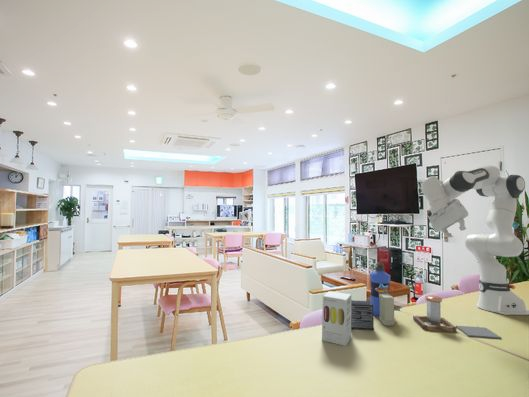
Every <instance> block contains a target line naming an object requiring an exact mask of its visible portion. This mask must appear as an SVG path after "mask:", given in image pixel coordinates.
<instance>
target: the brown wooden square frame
mask: <svg viewBox="0 0 529 397" xmlns="http://www.w3.org/2000/svg"><path fill="white" fill-rule="evenodd" d="M412 319H413V321H414V322H415V323H416V324H417V325H418V326H419V327H420V328H421V329H422V330H424V331H425V330H426V331H428V332H429V331H430V332H442V333H443V332H444V333H445V332H446V333H454V332H455V333H456V332H457V328H456V325H454V324H452V323H451V322H449V321H448V319H445V317H441V322H442V323H443V324H442V323H441V324H442V325H441V326H437V325H428V324H427V323H425V322H427V315H413V317H412Z"/></svg>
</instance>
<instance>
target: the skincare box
mask: <svg viewBox="0 0 529 397" xmlns="http://www.w3.org/2000/svg"><path fill="white" fill-rule="evenodd" d="M379 299H380V317H379V321H380V322H381V323H382V324H383V325H384V326H395V298H394V297H393V296H392V295H391V294H390V293H389V294H379Z"/></svg>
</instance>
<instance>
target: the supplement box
mask: <svg viewBox="0 0 529 397" xmlns="http://www.w3.org/2000/svg"><path fill="white" fill-rule="evenodd" d="M351 300H352V294H350V293H344V292H337V291H332V290H329V291H327V292H326V293H325V294H324V295H323V296H322V314H321V315H322V316H321V317H322V318H321V341H323V342H327V343H333V344H337V345H341V346H345V347H346V346H347V345H348V343H349V341H350V339H351V338H352V329H351Z"/></svg>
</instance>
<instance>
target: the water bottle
mask: <svg viewBox="0 0 529 397" xmlns="http://www.w3.org/2000/svg"><path fill="white" fill-rule="evenodd" d="M369 281H370V294H369V301H370V302H371V303H372V304H373V317H378V318H380V299H379V294H389V295H390V284H391V274H389V273H387V272H386V270H385V264H384V263H383V262H382V261H379V262H376V263H375V271H372V272H370V273H369Z"/></svg>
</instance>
